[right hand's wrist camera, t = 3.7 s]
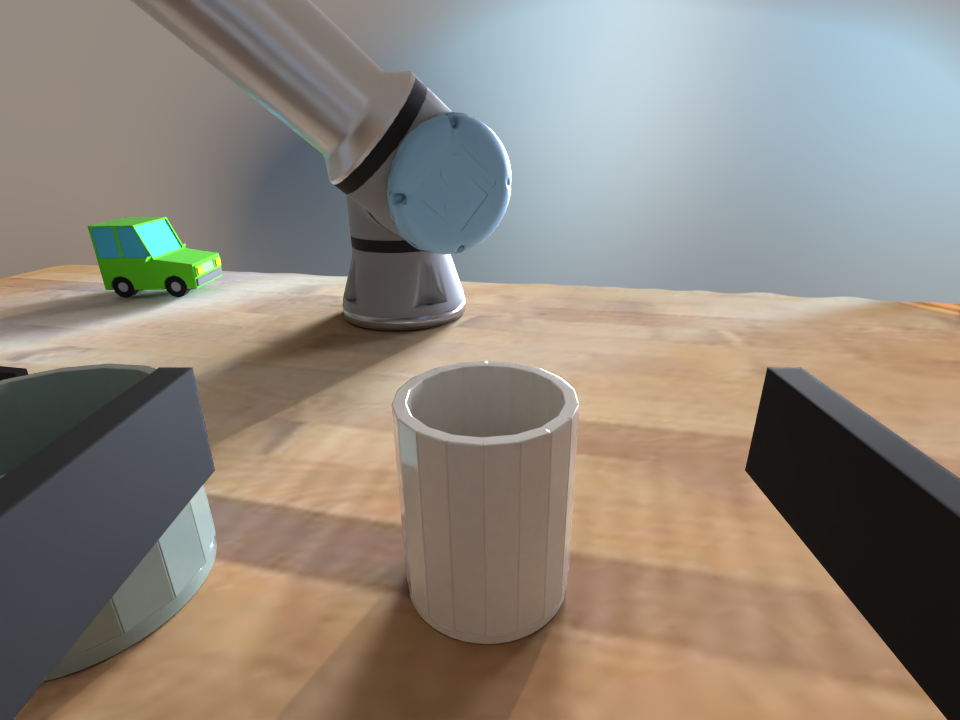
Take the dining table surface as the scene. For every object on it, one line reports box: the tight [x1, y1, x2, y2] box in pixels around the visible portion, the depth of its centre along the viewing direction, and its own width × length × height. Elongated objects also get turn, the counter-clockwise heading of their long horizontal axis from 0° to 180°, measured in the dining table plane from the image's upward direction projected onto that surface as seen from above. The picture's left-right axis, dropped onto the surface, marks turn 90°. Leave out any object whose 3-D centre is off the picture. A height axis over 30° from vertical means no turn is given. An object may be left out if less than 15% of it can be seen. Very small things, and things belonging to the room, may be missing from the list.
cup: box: [392, 361, 579, 644], centre depth 25 cm, size 8×8×10 cm
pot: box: [0, 364, 217, 681], centre depth 25 cm, size 12×12×10 cm
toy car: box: [88, 217, 222, 298], centre depth 78 cm, size 10×13×10 cm
